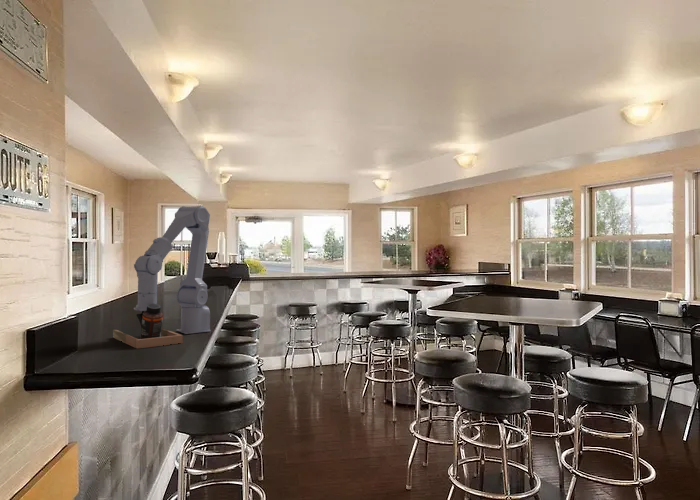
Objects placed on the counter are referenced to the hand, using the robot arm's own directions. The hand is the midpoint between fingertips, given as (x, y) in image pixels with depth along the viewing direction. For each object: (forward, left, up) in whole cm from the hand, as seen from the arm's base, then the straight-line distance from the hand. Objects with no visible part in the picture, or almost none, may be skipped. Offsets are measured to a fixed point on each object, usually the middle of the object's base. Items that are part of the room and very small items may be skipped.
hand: (146, 335), depth 164 cm
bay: (0, 0, -2) cm, 2 cm away
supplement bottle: (0, +3, -1) cm, 3 cm away
